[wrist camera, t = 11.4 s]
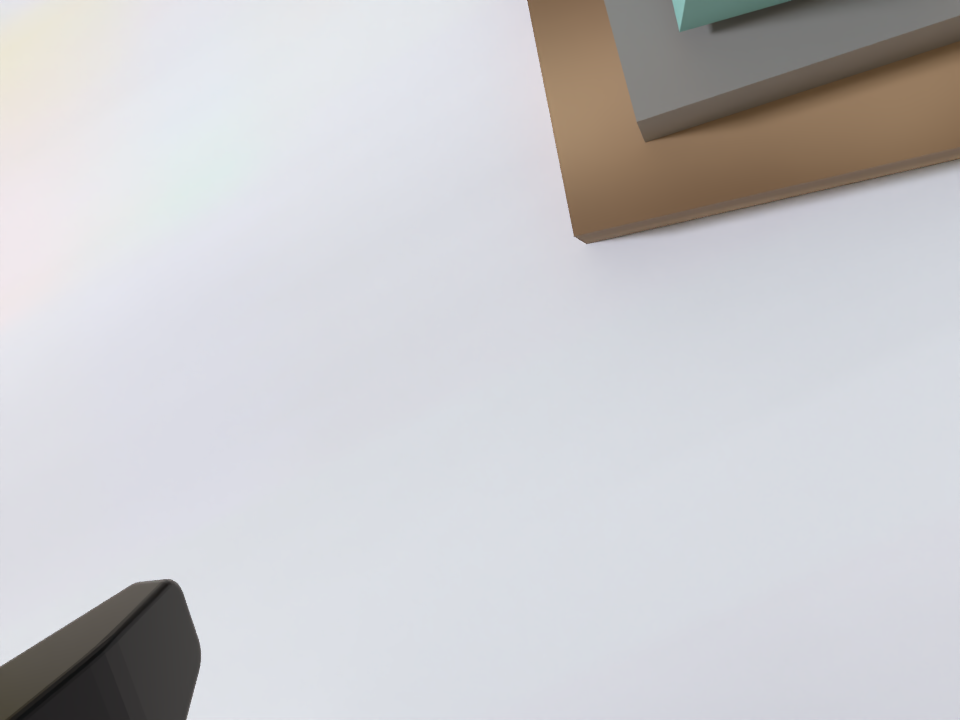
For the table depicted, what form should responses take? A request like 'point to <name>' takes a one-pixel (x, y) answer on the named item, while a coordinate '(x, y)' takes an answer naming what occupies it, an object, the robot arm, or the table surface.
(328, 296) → the table surface
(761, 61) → the charcoal tile
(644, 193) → the walnut slab
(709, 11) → the teal pillar
